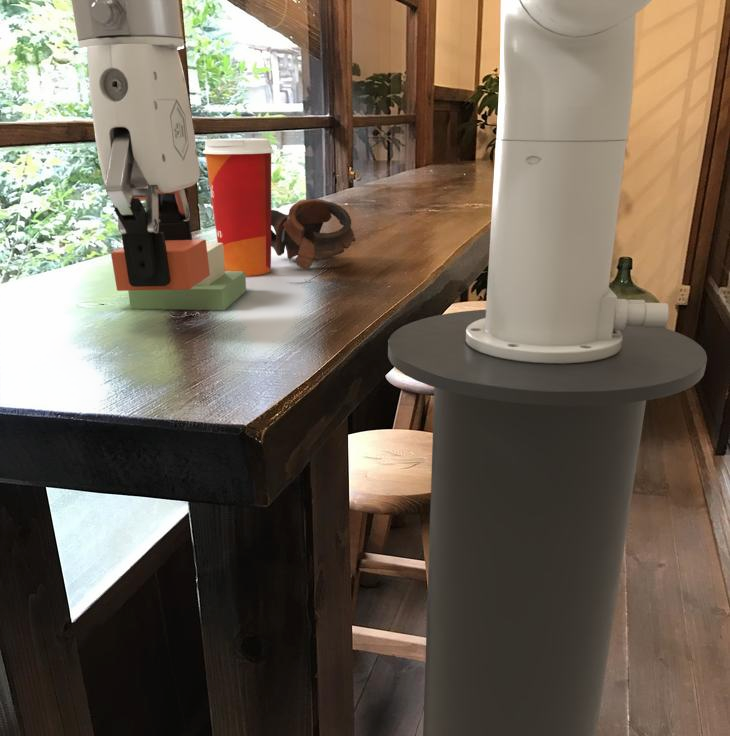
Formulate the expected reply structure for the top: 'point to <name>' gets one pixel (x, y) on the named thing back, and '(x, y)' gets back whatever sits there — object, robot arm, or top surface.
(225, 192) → the paper cup
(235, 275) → the sage green pad
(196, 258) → the orange rectangular block
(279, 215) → the brown coiled band
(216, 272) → the cream rectangular block
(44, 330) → the top surface
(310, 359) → the top surface
